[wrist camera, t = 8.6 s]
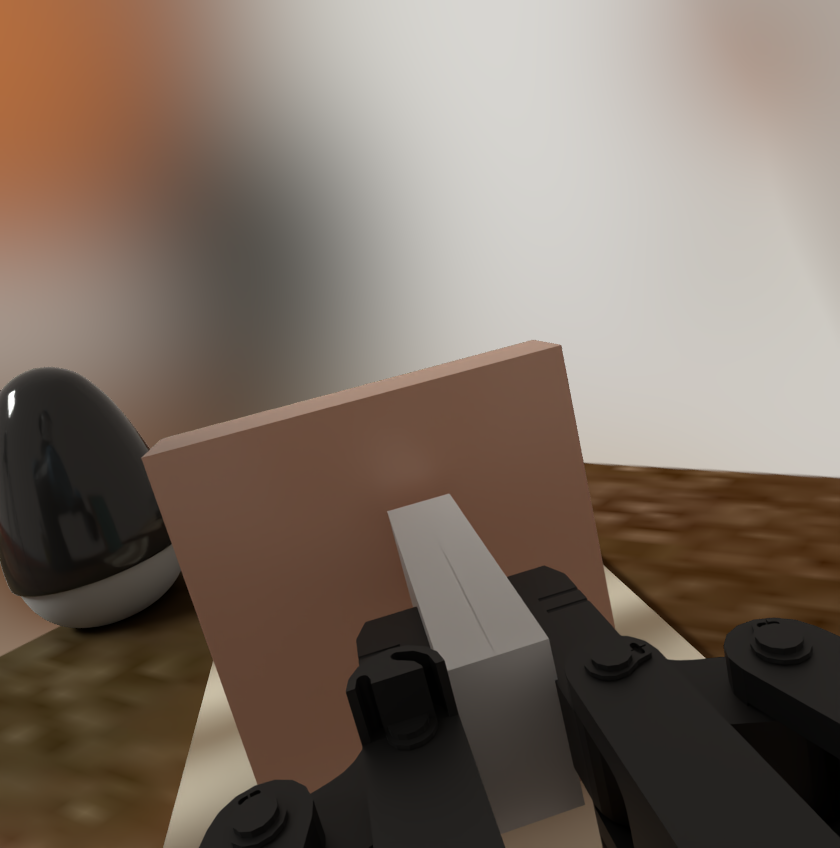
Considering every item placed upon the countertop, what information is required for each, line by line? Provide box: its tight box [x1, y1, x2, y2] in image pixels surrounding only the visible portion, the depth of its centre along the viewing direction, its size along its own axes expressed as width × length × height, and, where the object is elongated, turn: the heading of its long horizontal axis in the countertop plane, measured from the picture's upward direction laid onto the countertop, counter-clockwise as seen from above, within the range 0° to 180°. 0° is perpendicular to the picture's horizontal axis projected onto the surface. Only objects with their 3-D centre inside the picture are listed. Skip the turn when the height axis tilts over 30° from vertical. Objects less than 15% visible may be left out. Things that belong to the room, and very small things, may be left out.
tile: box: [141, 340, 615, 794], centre depth 17 cm, size 2×10×12 cm, turn 100°
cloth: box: [163, 565, 706, 848], centre depth 24 cm, size 22×18×1 cm
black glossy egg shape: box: [0, 367, 181, 628], centre depth 39 cm, size 10×10×15 cm
